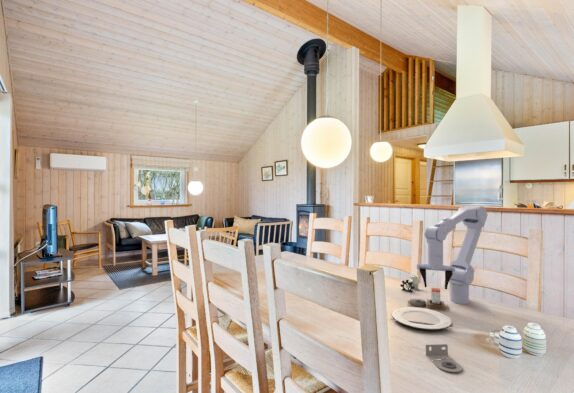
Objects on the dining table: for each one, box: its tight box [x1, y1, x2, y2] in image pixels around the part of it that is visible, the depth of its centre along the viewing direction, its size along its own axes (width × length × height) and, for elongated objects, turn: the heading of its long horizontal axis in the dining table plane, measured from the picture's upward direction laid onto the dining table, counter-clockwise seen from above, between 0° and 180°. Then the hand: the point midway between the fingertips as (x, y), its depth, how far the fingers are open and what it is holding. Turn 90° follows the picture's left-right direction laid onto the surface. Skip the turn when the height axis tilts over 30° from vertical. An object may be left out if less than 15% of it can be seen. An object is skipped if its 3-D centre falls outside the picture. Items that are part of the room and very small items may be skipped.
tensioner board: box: [407, 298, 451, 312], centre depth 131 cm, size 8×16×3 cm, turn 68°
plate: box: [391, 306, 452, 331], centre depth 118 cm, size 21×21×2 cm
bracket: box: [425, 343, 463, 373], centre depth 88 cm, size 7×10×4 cm, turn 2°
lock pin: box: [430, 287, 441, 305], centre depth 130 cm, size 3×3×7 cm
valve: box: [400, 274, 420, 293], centre depth 156 cm, size 7×7×12 cm
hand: (435, 287), depth 130 cm, fingers open, 7 cm apart
